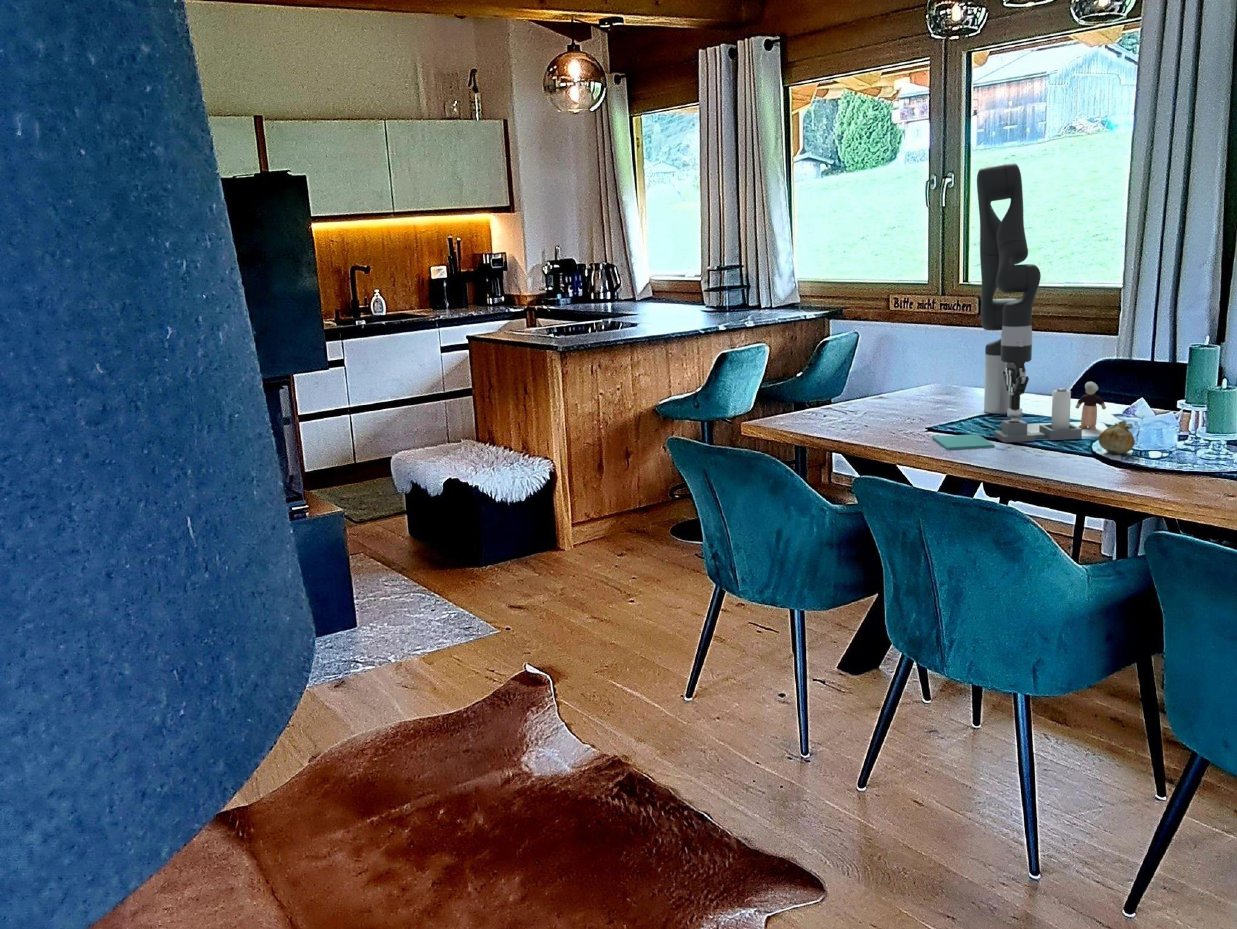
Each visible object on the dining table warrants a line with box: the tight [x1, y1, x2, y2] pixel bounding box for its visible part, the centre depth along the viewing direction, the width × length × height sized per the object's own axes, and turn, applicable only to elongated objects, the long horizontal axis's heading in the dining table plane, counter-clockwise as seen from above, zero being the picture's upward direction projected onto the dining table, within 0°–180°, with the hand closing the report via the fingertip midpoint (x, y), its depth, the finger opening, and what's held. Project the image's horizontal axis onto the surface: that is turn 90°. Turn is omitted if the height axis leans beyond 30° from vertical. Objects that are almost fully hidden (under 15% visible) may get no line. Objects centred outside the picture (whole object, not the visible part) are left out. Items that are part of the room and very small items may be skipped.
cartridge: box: [1050, 387, 1072, 430], centre depth 280 cm, size 4×4×13 cm
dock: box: [993, 419, 1083, 443], centre depth 281 cm, size 8×20×4 cm, turn 89°
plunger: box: [1006, 407, 1023, 423], centre depth 280 cm, size 4×4×4 cm
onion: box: [1098, 420, 1136, 455], centre depth 259 cm, size 8×8×8 cm
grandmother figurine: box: [1075, 381, 1107, 430], centre depth 287 cm, size 8×4×13 cm, turn 62°
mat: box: [932, 433, 996, 451], centre depth 280 cm, size 14×12×1 cm
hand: (1014, 409), depth 280 cm, fingers closed
